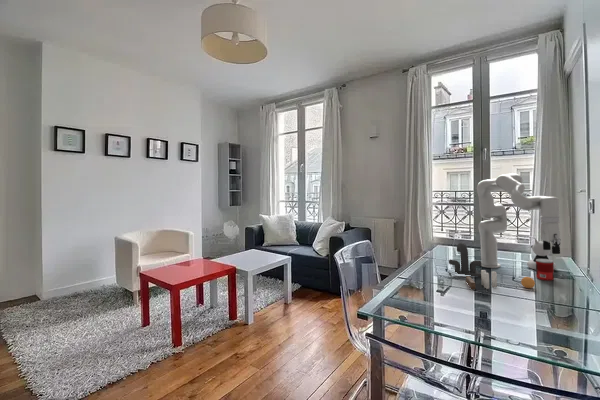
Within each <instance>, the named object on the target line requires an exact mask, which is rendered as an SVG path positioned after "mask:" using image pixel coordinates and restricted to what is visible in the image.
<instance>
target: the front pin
mask: <svg viewBox="0 0 600 400" xmlns="http://www.w3.org/2000/svg"><path fill="white" fill-rule="evenodd" d="M497 274H498V273H497V271H493V270H492V271H491V287H492V288H494V287H497V288H498V279H497V278H498V275H497Z"/></svg>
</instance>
